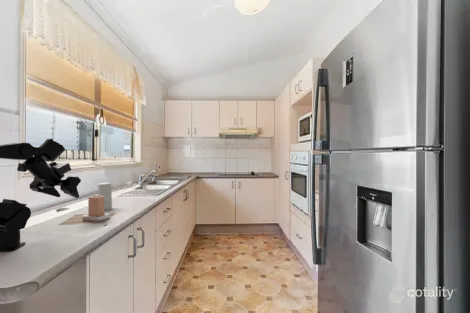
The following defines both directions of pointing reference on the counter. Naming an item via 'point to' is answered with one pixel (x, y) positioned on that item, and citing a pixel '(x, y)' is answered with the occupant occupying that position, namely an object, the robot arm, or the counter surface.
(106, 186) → the skincare box
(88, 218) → the steel collar
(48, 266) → the counter surface
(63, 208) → the soupspoon
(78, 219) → the walnut board
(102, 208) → the terracotta upright block
